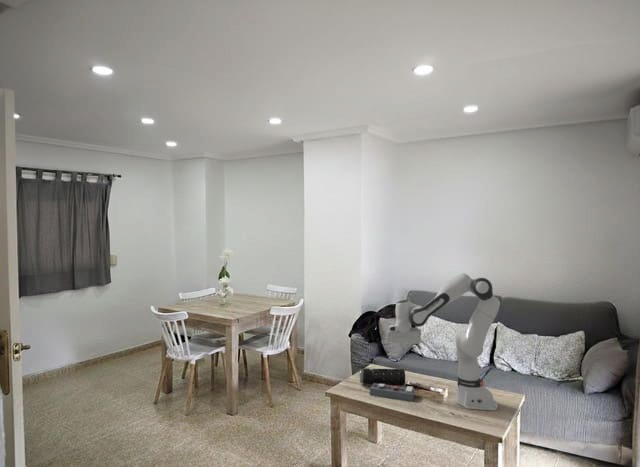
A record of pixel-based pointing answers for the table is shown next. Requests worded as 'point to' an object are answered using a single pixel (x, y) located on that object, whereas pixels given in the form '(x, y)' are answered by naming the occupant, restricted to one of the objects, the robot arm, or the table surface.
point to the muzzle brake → (382, 376)
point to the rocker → (409, 389)
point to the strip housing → (392, 392)
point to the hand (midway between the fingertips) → (404, 350)
